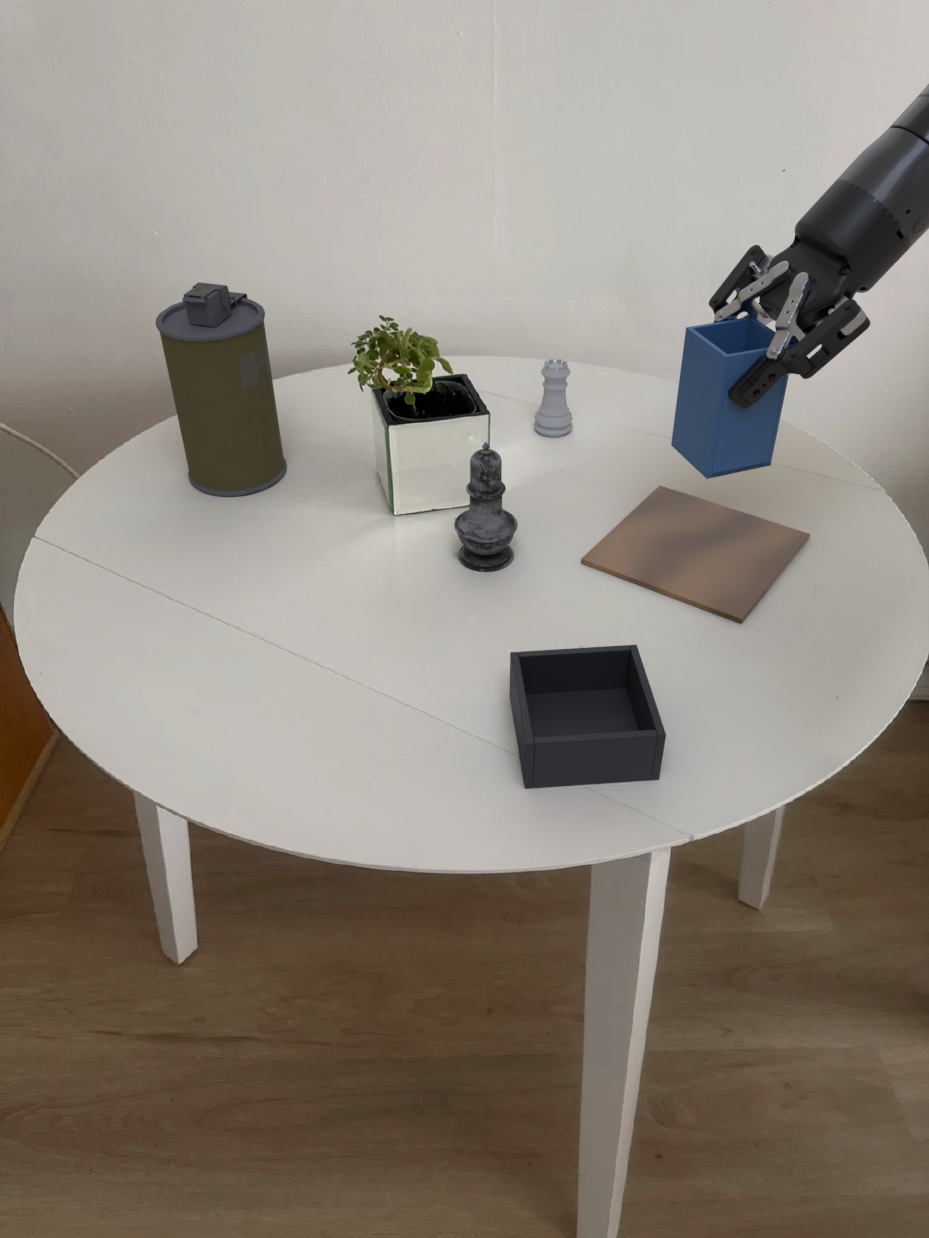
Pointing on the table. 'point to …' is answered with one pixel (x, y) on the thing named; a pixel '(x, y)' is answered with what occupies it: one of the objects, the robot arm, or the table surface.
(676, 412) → the blue bin
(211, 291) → the canister
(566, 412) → the rook chess piece
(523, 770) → the black bin
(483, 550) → the dark grey tall piece
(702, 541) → the cork mat
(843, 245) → the robot arm
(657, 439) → the table surface
